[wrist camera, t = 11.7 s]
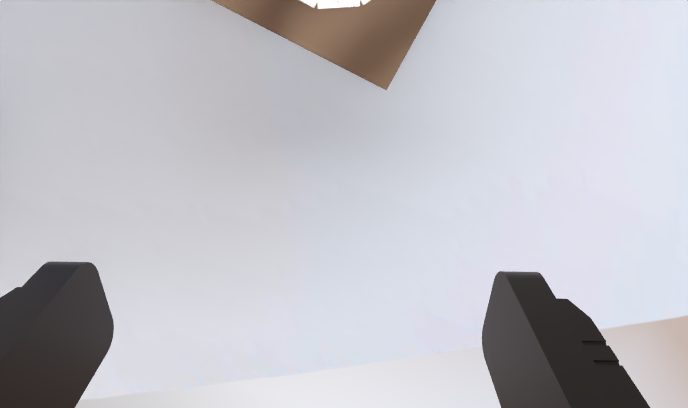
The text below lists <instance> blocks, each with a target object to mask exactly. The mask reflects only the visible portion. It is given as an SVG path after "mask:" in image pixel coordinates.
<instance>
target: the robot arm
mask: <svg viewBox="0 0 688 408" xmlns="http://www.w3.org/2000/svg"><path fill="white" fill-rule="evenodd" d="M113 330H114V325H113V319H112V315H111V312H110V309H109V306H108V302H107V299H106V296H105V293H104V289H103V286H102V283H101V280H100V277H99V273H98V271H97V269H96V267H95V266H94V265H93V264H92V263H89V262H48V263H46V264H44V265H43V266H42V267H41V268H40V269H39V270H38V271H37V272H36V273H35V274H34V275H33V276H32V277H31V278H30V279H29V280H28V281H27V282H26V283H25V284H24V285H23V286H22V287H17V288H15V289H14V290H12V291H10V292H9V293H7V294H6V295H4V296H2V297H1V298H0V408H75V406H76V404H77V403H78V401H79V399H80V398H81V396H82V394H83V393H84V391H85V389H86V388H87V386H88V384H89V382H90V381H91V379H92V377H93V376H94V374H95V372H96V371H97V369H98V367H99V366H100V364H101V362H102V360H103V359H104V357H105V355H106V354H107V352H108V350H109V348H110V345H111V342H112V338H113ZM482 346H483V353H484V357H485V360H486V364H487V366H488V370H489V372H490V375H491V378H492V381H493V384H494V387H495V390H496V393H497V396H498V399H499V402H500V405H501V408H650V407H649V405H648V404H647V402H646V401H645V399H644V398H643V396H642V395H641V393H640V392H639V390H638V389H637V387H636V386H635V384H634V383H633V381H632V380H631V378H630V377H629V375H628V374H627V372H626V371H625V369H624V368H623V366H620V365H619V360H618V359H617V357H616V356H615V354H614V353H613V351H612V350H611V348H610V347H609V346H606V341H605V339H604V338H603V336H602V335H601V333H600V331H599V330H598V328H597V327H596V325H595V324H594V322H593V321H592V319H591V318H590V317H589V316H587V315H586V314H585V313H584V312H583V311H581V310H580V309H579V308H578V307H576V306H575V305H574V304H573V303H572V302H570V301H569V300H568V299H556V298H555V296H554V294H553V293H552V291H551V289H550V288H549V286H548V284H547V283H546V281H545V279H544V278H543V276H542V275H541V274H540V273H538V272H501V271H500V272H498V273H497V275H496V276H495V279H494V283H493V287H492V291H491V296H490V300H489V304H488V308H487V312H486V317H485V321H484V325H483V331H482Z"/></svg>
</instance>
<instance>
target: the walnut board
mask: <svg viewBox="0 0 688 408" xmlns="http://www.w3.org/2000/svg"><path fill="white" fill-rule="evenodd" d="M212 1H214V2H216V3H218V4H220V5H222V6H224V7H226V8H227V9H229V10H231V11H233V12H235V13H237V14H239V15H241V16H243V17H245V18H247V19H249V20H251V21H253V22H255V23H257V24H259V25H261V26H262V27H264V28H266V29H268V30H270V31H272V32H274V33H276V34H278V35H280V36H282V37H284V38H286V39H288V40H290V41H292V42H294V43H296V44H297V45H299V46H301V47H303V48H305V49H307V50H309V51H311V52H313V53H315V54H317V55H319V56H321V57H323V58H325V59H327V60H329V61H331V62H332V63H334V64H336V65H338V66H340V67H342V68H344V69H346V70H348V71H350V72H352V73H354V74H356V75H358V76H360V77H362V78H364V79H366V80H367V81H369V82H371V83H373V84H375V85H377V86H379V87H381V88H383V89H385V90H387V88H388V86H389V84H390V83H391V81H392V79H393V77H394V75H395V74H396V72H397V70H398V68H399V66H400V65H401V63H402V61H403V59H404V57H405V56H406V54H407V52H408V50H409V48H410V47H411V45H412V43H413V41H414V39H415V38H416V36H417V34H418V32H419V30H420V29H421V27H422V25H423V23H424V21H425V20H426V18H427V16H428V14H429V12H430V11H431V9H432V7H433V5H434V3H435V2H436V0H370V1H368V2H367V3H366V4H364V5H363V3H362V2H361V0H360V6H356V7H340V8H323V9H318V5H317V4H316V5H315V7H314V8H313V7H311V6H309V5H308V4H306V3H304V2H302V1H300V0H212Z"/></svg>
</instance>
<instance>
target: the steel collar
mask: <svg viewBox="0 0 688 408" xmlns="http://www.w3.org/2000/svg"><path fill="white" fill-rule="evenodd" d="M300 1H302V2H304V3H306V4H308V5H309V6H311V7H313V8H314V7H315V5H316V4H317V5H318V9H323V8H340V7H356V6H360V0H300ZM368 1H370V0H361V2H362V3H363V5H364V4H366V3H367V2H368Z"/></svg>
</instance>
